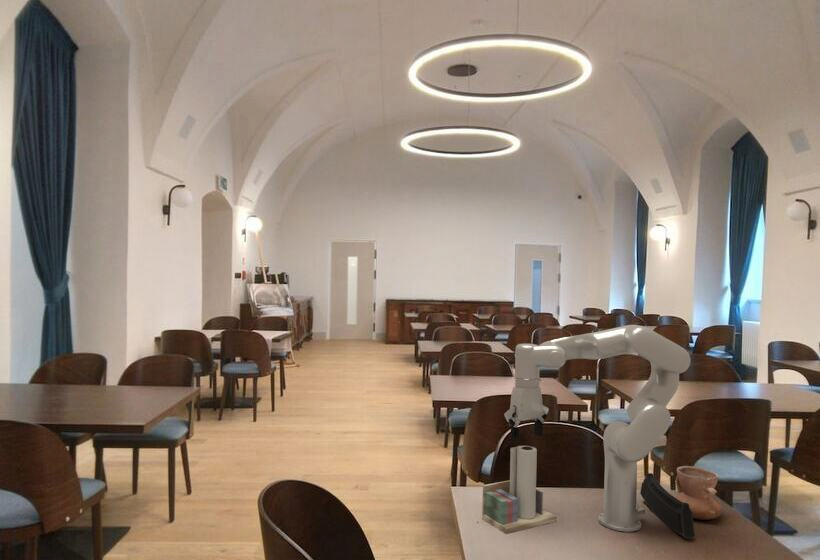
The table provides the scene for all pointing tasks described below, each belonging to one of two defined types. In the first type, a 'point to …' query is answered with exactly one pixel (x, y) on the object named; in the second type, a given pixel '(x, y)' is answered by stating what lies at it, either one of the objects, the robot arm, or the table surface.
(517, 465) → the paper towel roll
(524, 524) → the book rack
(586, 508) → the table surface
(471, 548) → the table surface
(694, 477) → the ceramic jug
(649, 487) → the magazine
